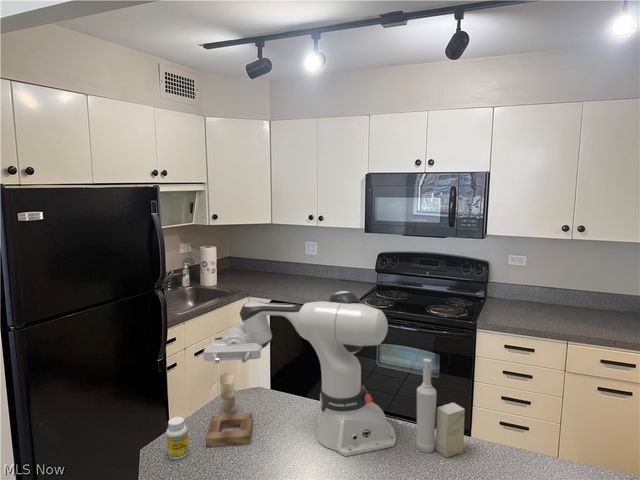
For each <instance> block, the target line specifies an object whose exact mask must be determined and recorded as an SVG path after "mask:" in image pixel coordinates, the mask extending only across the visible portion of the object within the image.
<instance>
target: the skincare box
mask: <svg viewBox="0 0 640 480" xmlns="http://www.w3.org/2000/svg"><path fill="white" fill-rule="evenodd" d="M465 413H466V411H465V408H464V407H462V406H460V405H459V404H457V403H455V402H450V403H446V404H444V405H440V406H438V407H437V406H436V423H435V450H436V451H438V452H439V453H440V454H441V455H442V456H444V457H445V458H449V457H453V456H455V455H458V454H460V453H462V452H464V443H465V442H464V439H465V436H464V435H465Z"/></svg>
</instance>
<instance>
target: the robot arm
mask: <svg viewBox="0 0 640 480" xmlns="http://www.w3.org/2000/svg"><path fill="white" fill-rule="evenodd" d="M361 302H362V301H361V299H359V298H358V296H357V295H356V294H355V293H354V292H352V291H347V290H339V291H337V292H335V293H334V294H331V296H330V297H329V299H328V301H321V300H320V301H310V302H306V303H304V304H302V305H301V304H296V303H281V302H279V303H278V302H277V303H276V302H263V301H257V300H256V301H255V300H254V301H250V302H246V303H244V304H243V305H242V307H241V308H240V311H239V316H240V319H241V321H242V324H240V323H237V324H234V325H233V326H231V327H230V328H229V329H228V331H227V333H226V335H225V336H221V337H215V338H212V339H210V340H211V341H210V342H209V343H208V344H207V345H206V346H205V348H204V350H203V360H204V361H205V362H209V361H210V362H213V363H214V365H215V364H220V361H239V360H241V363H247V362H248V361H249V360H258V359H261V358H262V357H261V355H262V354H261V351H262V350H263V349H265V347H267V346H268V345H269V344H270V343H271V341H272V339H273V334H272V331H271V328H270V323H269V321H268V317H267V316H278V317H284V318H285V319H287V320H288V321H289V322H290V323H291V325H292V326H293V327H294V329H295V331H296V332H297V334H299V336H300V337H302V339H304V340H306V341H308V342H309V344H310V345H311V346H312V348H313V349H314V350H315V352H316V356H317V357H318V360H319V364H320V372H321V387H320V393H319V407H320V419H319V425H318V428H317V431H316V438H317V441H318V442H319V444H321V445H322V446H324V447H325V448H328V449H329V450H334V451H335V452H337V453H339V454H340V455H342V456H344V457H347V456H354V455H358V454H364V453H368V452H372V451H373V452H374V451H378V450H383V449H387V448H392V447H394V446H395V445H396V443H397V437H396V434H397V433H396V431H395V429H394V427H393V425H392V424H391V422H389V421H388V420H387V417H386V415H385V413H384V411H383V409H382V408H381V407H380V406H379V405H378V404H376V403H375V402H373V397H372V396H371V394H369V392H368V390H367V388H365V386H364V385H363V384H362V367H361V363H360V361H359V359H358V358H357V356H355V354H356V353H358V352H360V351H362V349H363V347H369V346H370V347H372V346H380V344H381V343H382V342H383V341H384V340H385V338H386V336H387V333H388V329H389V326H388V325H389V324H388V319H387V317H386V315H385V313H384V312H383V310H381V309H379V308H376V307H373V306H370V305H368V304H366V303H361Z"/></svg>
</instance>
